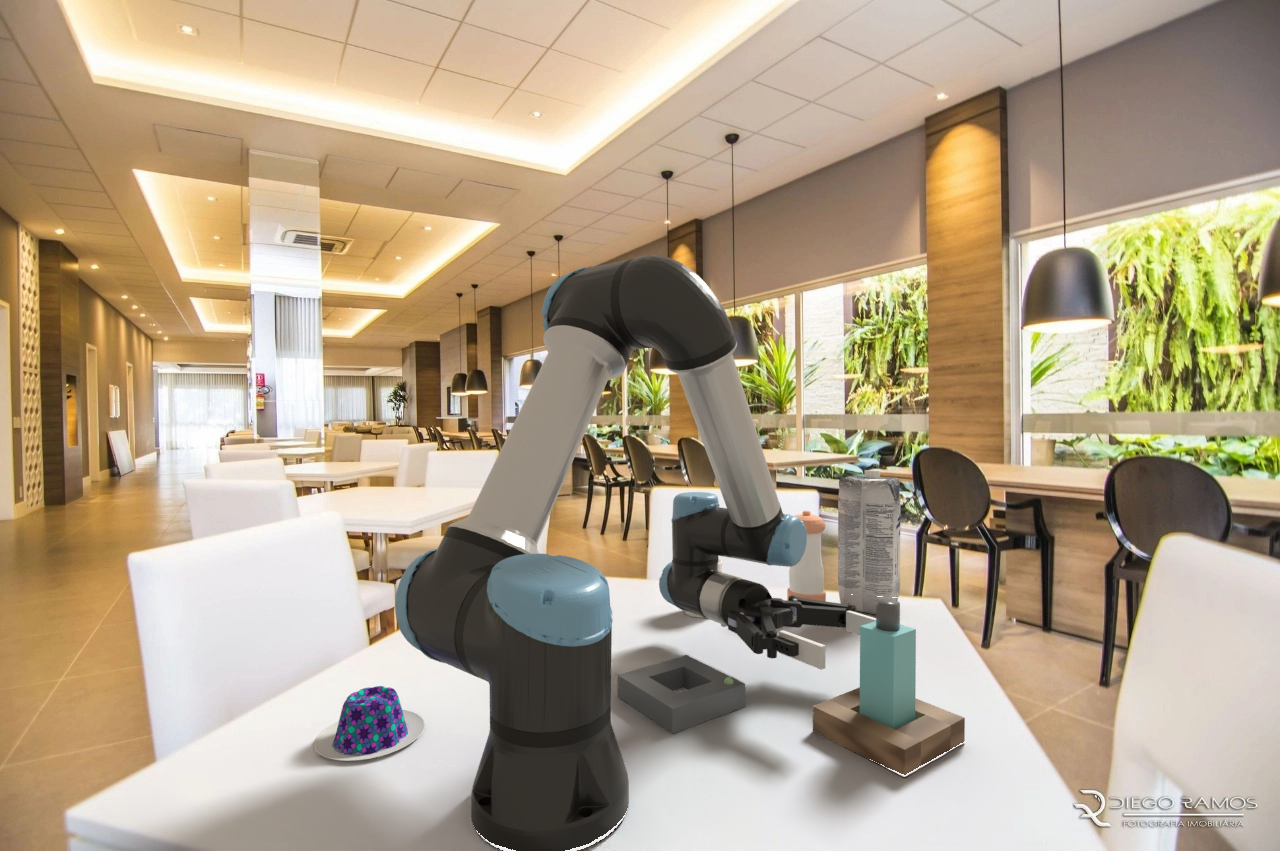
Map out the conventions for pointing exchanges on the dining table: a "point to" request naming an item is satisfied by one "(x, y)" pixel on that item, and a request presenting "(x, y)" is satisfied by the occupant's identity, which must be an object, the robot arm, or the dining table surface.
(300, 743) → the dining table surface
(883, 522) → the juice carton
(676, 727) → the port
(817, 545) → the pepper shaker
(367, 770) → the dining table surface
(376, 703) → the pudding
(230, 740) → the dining table surface
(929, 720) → the holster
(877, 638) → the plug
